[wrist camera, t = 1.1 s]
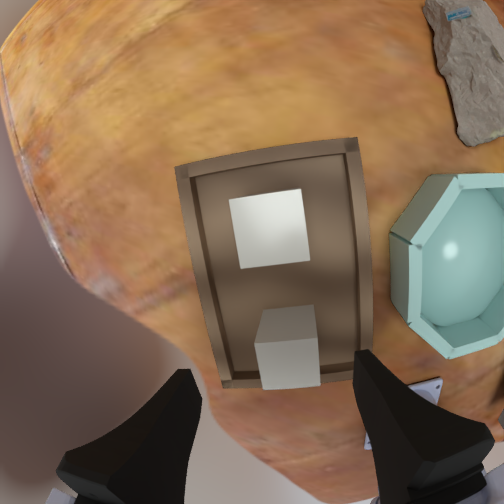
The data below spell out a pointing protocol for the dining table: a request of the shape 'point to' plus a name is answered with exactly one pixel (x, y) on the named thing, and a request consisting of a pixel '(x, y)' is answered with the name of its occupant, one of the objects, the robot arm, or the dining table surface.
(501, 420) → the game console
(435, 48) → the concrete fragment
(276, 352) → the stone
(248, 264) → the stone
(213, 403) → the dining table surface
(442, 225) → the bowl
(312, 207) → the tray
